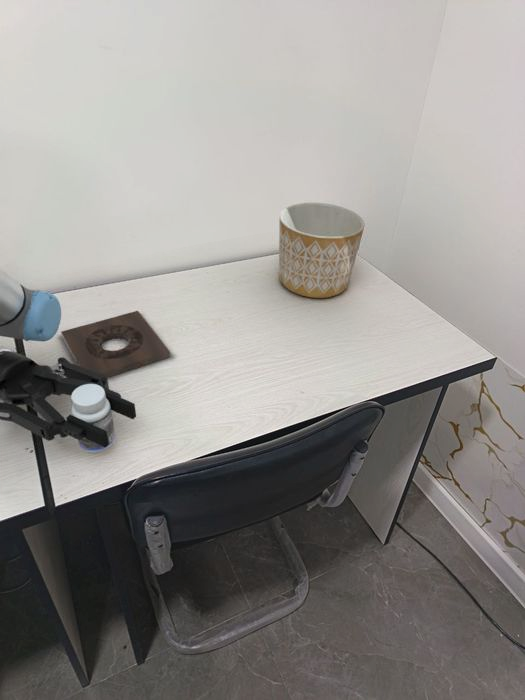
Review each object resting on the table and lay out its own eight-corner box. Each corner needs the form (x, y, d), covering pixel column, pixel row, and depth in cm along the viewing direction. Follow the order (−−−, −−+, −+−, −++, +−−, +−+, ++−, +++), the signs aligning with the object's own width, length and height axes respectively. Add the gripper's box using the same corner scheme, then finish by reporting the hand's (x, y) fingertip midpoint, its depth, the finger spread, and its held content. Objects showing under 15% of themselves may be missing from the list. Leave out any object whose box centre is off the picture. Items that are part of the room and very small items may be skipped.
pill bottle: (71, 441, 76) (59, 395, 70) (100, 421, 80) (91, 376, 74) (94, 459, 73) (83, 413, 68) (123, 438, 77) (115, 392, 71)
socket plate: (87, 384, 89) (86, 378, 88) (62, 337, 99) (60, 331, 98) (170, 357, 96) (169, 351, 95) (138, 316, 106) (137, 310, 105)
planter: (301, 310, 112) (310, 243, 102) (260, 271, 125) (264, 209, 114) (368, 292, 120) (382, 228, 110) (322, 257, 133) (331, 197, 122)
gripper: (50, 359, 87) (159, 404, 80) (-42, 426, 74) (79, 488, 67) (41, 324, 83) (156, 369, 76) (-59, 389, 69) (69, 451, 62)
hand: (120, 425), depth 71 cm, fingers closed on pill bottle, 5 cm apart
